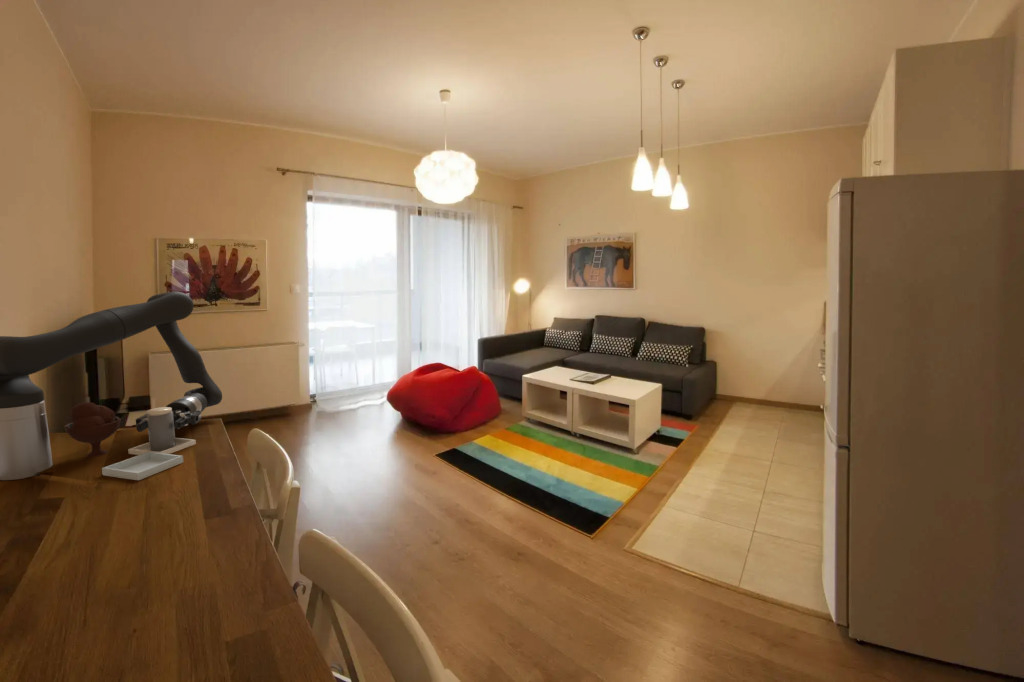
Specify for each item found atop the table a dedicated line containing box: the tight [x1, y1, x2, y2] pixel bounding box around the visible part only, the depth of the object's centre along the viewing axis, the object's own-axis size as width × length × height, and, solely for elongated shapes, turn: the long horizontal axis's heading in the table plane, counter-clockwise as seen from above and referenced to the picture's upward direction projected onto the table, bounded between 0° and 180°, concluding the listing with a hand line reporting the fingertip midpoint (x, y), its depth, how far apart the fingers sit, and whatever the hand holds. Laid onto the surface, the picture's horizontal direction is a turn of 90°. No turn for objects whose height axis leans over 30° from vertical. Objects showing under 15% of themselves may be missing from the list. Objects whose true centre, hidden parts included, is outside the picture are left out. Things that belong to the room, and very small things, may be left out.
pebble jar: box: [146, 406, 176, 452], centre depth 123 cm, size 6×6×11 cm
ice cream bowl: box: [63, 401, 122, 458], centre depth 119 cm, size 11×11×15 cm
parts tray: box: [127, 437, 197, 456], centre depth 124 cm, size 10×10×2 cm
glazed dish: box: [101, 452, 184, 481], centre depth 111 cm, size 11×11×2 cm
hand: (157, 427), depth 121 cm, fingers open, 8 cm apart
